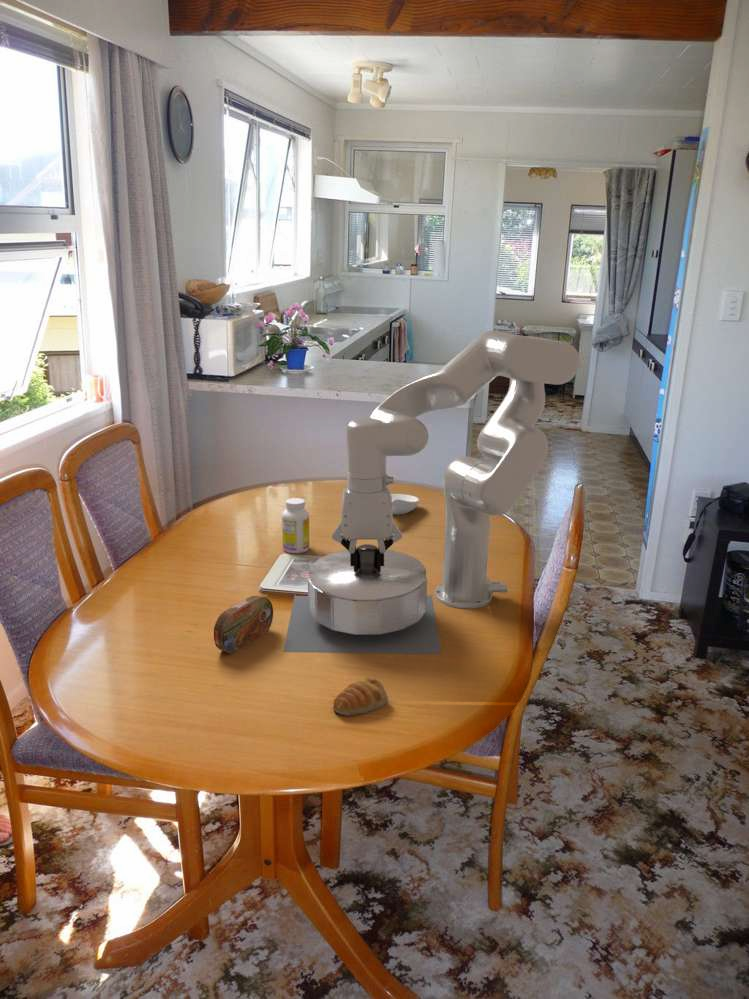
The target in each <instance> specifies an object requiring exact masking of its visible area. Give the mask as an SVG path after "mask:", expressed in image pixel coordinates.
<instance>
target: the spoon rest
mask: <svg viewBox="0 0 749 999" xmlns="http://www.w3.org/2000/svg"><path fill="white" fill-rule="evenodd" d="M391 498H392V512H393V515H398V516H399V515H406V514H409V513H410V512H411V511H413V510H415V509H416V508H417V507H418V505H419V503H420V499H419V497H417V496H414V495H410V494H404V493H403V494H402V493H391Z"/></svg>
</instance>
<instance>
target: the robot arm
mask: <svg viewBox="0 0 749 999" xmlns="http://www.w3.org/2000/svg"><path fill="white" fill-rule="evenodd" d="M580 363H581V362H580V355H579V352H578V351H577V349H576V348H575V347H574V346H573V345H572V344H570V343H569V342H565V341H560V340H553V339H549V338H545V337H539V336H533V335H526V336H525V335H521V334H516V333H510V332H505V331H498V330H487V331H484V332H483V333H481V334H479V335H478V337H476V338H475V339H474V340H473V341H471V342H470V343H469V344H468V345H466V346H465V348H463V349H462V350H461V351H460V352H459V353H458V354H456V355H455V356H454V357H453V358H452V359H451V360H450V361H448V362H447V363H446V364H445V365H443V367H441V368H440V369H439V370H438V371H436V372H434V373H431V374H429V375H426V376H424V377H422V378H420V379H418V380H415V381H413V382H410V383H407V384H406V385H404V386H402V387H401V388H399V389H397V390H396V391H395V392H393V393H392V394H390V395H389V396H388V397H387V398H386V399H384V400H383V401H382V402H381V403H380V404H379V405H378V406H377V407H376V408H375V409H374V410H373V411H372V412H371V414H370V415H369V416H368V417H360V418H356V419H353V420H350V422H349V423H348V424H347V425H346V472H347V473H346V476H347V477H346V478H347V479H346V480H347V484H346V485H347V486H345V487H344V488H343V491H342V498H341V511H340V515H341V516H340V518H341V519H340V522H339V523H338V524H337V526H336V528H335V529H334V531H333V532H332V535H331V539H332V540H333V541H335V542H337V543H338V544H340V545H342V546H343V548H345V549H346V550H348V551H349V553H350V566H354V572H357V571H358V562H357V542H358V540H376V541H377V544H378V545H377V571H378V572H381V566H384V553H385V552H386V550H389V549H390V548H391V546H393V545H394V543H396V542H399V541H400V540H401V539H403V533H402V532H401V530H400V529H399V527H398V526H397V525H396V523H395V522H394V519H393V518H394V517H393V516H394V514H393V512H392V498H391V494H392V492H391V489H390V486H389V485H390V484H391V485H392V484H393V485H394V482H395V481H394V476H390V475H388V474H387V457H410V456H415V455H416V454H418V453H420V452H421V451H423V450H424V449H425V447H426V446H427V444H428V442H429V430H428V428H427V427H426V425H425V423H423V422H422V421H421V420H419V419H417V417H419V416H421V415H424V414H426V413H430V412H432V411H437V410H445V409H453V408H457V407H461V406H463V405H466V404H467V403H468V402H470V401H471V400H472V399H473V398H474V397H476V396H477V395H478V393H480V392H481V391H482V390H483V389H485V387H486V386H487V385H489V384H491V382H492V381H493V380H495V378H497V377H499V376H500V377H505V378H508V379H509V387H508V389H507V390H508V391H507V393H506V394H505V396H504V398H503V400H502V401H501V403H499V405H498V407H497V408H496V410H495V411H494V412H493V413H492V415H491V417H490V418H489V420H488V421H487V422H486V423H485V424H484V426H483V428H482V430H481V431H480V432H479V435H478V437H477V441H476V446H477V449H478V451H479V453H480V454H481V455H482V456H483V457H485V458H487V459H489V460H491V461H492V462H494V463H495V462H496V463H497V464H496V465H493V464H491V463H488V462H486V461H484V460H480V459H479V458H475V457H472V456H460V457H457V458H455V459H453V460H452V461H450V462H449V464H448V465H447V467H446V468H445V470H444V473H443V478H442V480H443V481H442V488H443V495H444V503H445V524H444V525H445V527H444V528H445V529H444V546H443V562H442V563H443V564H442V583H441V584H438V585H437V586H436V587H435V589H434V597H435V599H436V600H437V601H438V602H440V604H443V605H446V606H448V607H452V608H457V609H465V610H466V609H471V610H472V609H477V608H478V609H479V608H482V607H485V606H487V605H489V604H490V603H491V602H492V600H493V593H503V594H505V593H506V594H507V593H508V584H507V583H501V581H500V580H497V579H496V580H495V579H494V580H490V579H489V578H488V576H487V573H488V572H487V571H488V562H489V561H488V560H489V544H490V533H491V532H490V531H491V517H490V516H492V517H493V516H496V517H497V516H502V515H504V514H507V513H508V512H509V511H511V509H513V508H514V506H515V505H516V504H518V502H519V500H520V499H521V498H522V496H523V495H524V493H525V492H526V490H527V489H528V487H529V486H530V484H532V481H533V480H534V479H535V477H536V476H537V474H538V473H539V472H540V470H541V469H542V467H543V465H544V463H545V462H546V459H547V456H548V451H549V442H548V438H547V436H546V434H545V432H543V431H542V430H541V429H539V428H538V427H536V426H535V425H536V424H537V422H538V421H539V419H540V417H541V415H542V414H543V413H544V409H545V407H546V406H545V405H546V391H545V384H549V385H557V386H559V385H563V384H566V383H568V382H569V381H571V380H572V379H573V378H574V377H575V376H576V374H577V373H578V371H579V368H580Z"/></svg>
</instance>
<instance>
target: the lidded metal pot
mask: <svg viewBox="0 0 749 999" xmlns="http://www.w3.org/2000/svg"><path fill="white" fill-rule="evenodd" d="M356 548H357V562H358V571H357V572H354V566H350V553H349V551H348V550H347V549H346V550H345V549H344V550H340V551H336V552H335V551H334V552H332V553H329V554H326V555H325V556H322V557H320V558H319V559H317V560H316V561H314V562H313V563H312V565H310V567H309V570H308V577H307V593H308V607H309V612H310V614H311V615H312V616H313V618H314V619H315V620H316V622H318V623H320V624H322V625H324V626H326V627H328V628H330V629H332V630H335V631H340V632H345V633H350V634H355V635H357V634H384V633H388V632H393V631H398V630H403V629H404V628H406V627H408V626H410V625H412V624H414V623H416V622H418V621H419V620H420V619H421V617H422V616H423V614H424V613H425V612H426V610H427V595H428V578H427V570H426V567H425V566H424V564H423V563H422V562H421V561H420V560H419V559H418V558H415V557H414V556H411V555H409V554H407V553H404V552H401V551H397V550H392V549H387V550H386V552H385V553H384V566H381V572H378V571H377V549H378V546H376V545H374V544H368V543H367V544H361V545H359V546H356Z"/></svg>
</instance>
